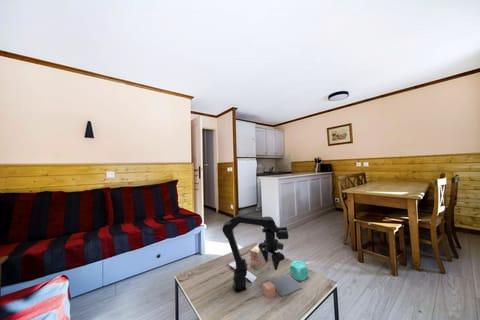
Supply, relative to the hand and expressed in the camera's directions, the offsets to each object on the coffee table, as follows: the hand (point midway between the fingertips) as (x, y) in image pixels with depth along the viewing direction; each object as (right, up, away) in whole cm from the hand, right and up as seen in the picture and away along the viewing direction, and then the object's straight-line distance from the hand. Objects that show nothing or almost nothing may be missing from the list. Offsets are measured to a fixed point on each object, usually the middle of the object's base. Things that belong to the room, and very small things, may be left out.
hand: (271, 265), depth 103 cm
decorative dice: (+19, -12, +8) cm, 24 cm away
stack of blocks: (-2, -14, +27) cm, 30 cm away
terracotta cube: (-2, -13, -6) cm, 14 cm away
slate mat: (+8, -12, +1) cm, 15 cm away
